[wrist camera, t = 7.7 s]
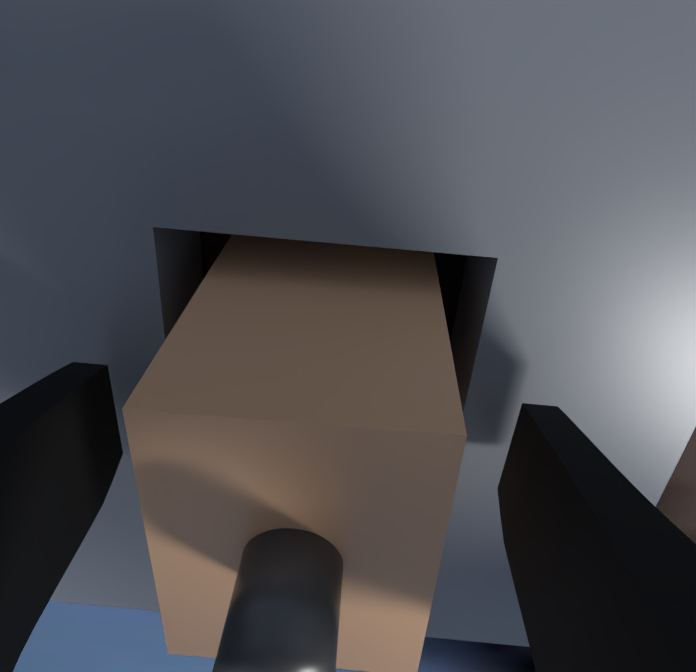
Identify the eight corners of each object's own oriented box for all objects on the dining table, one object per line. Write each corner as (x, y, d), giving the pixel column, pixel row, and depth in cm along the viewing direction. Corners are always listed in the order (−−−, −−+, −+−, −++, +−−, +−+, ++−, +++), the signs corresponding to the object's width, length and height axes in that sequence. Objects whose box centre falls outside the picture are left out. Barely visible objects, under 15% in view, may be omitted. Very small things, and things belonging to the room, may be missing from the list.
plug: (431, 240, 12) (487, 552, 5) (405, 430, 14) (422, 795, 8) (236, 226, 12) (53, 515, 5) (245, 417, 14) (130, 768, 8)
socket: (784, 4, 9) (903, 9, 7) (557, 566, 17) (582, 652, 14) (-77, -69, 9) (-212, -86, 7) (73, 520, 17) (27, 598, 15)
